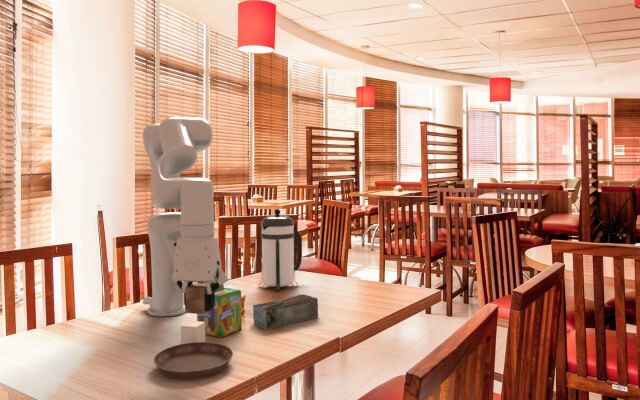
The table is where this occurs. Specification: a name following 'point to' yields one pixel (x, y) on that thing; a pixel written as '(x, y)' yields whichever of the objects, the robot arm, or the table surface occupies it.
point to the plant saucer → (193, 360)
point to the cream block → (192, 332)
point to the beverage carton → (285, 311)
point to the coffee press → (279, 251)
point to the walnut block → (195, 298)
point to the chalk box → (223, 313)
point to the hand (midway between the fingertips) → (199, 308)
